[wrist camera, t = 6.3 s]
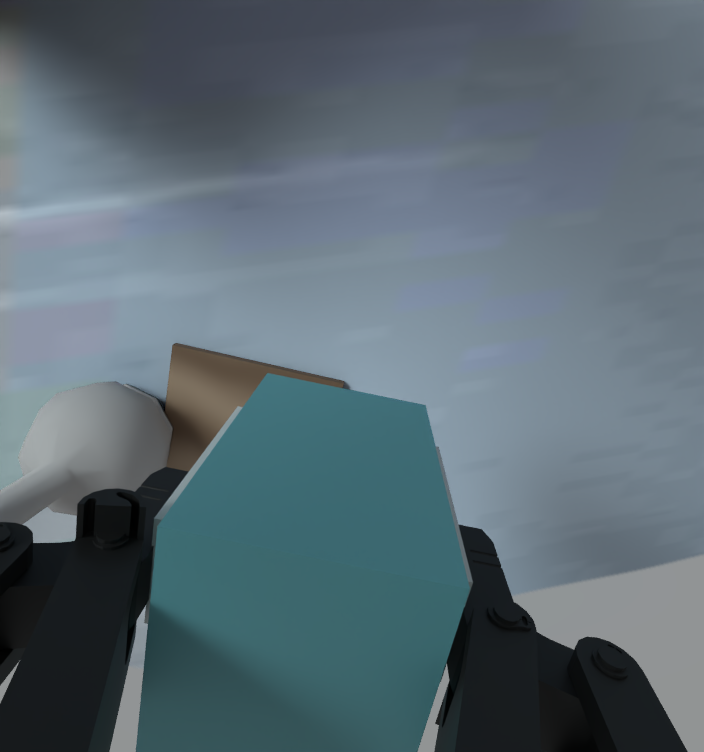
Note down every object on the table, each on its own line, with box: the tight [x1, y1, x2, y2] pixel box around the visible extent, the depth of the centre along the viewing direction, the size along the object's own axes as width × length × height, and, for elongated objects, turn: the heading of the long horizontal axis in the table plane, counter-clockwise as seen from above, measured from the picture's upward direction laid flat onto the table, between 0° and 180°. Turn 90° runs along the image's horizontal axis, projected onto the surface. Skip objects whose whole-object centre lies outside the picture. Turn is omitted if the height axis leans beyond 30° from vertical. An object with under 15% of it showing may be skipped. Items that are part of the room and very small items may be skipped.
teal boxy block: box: [136, 373, 470, 752], centre depth 13 cm, size 5×5×9 cm
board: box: [165, 343, 344, 471], centre depth 38 cm, size 14×12×1 cm
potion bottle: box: [0, 382, 173, 525], centre depth 29 cm, size 9×9×18 cm
